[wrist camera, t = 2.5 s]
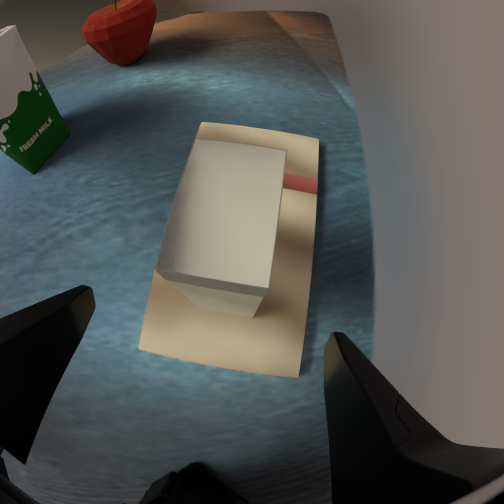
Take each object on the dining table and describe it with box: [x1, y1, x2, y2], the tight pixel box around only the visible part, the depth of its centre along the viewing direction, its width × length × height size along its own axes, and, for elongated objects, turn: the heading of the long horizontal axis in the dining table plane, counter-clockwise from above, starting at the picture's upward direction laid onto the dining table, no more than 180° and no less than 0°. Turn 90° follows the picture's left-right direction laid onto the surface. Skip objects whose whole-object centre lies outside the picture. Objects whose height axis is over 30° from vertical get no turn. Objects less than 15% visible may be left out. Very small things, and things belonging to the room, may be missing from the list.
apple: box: [82, 0, 157, 65], centre depth 26 cm, size 11×11×12 cm
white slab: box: [155, 138, 287, 318], centre depth 16 cm, size 6×4×11 cm
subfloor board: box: [138, 122, 319, 378], centre depth 23 cm, size 22×12×1 cm, turn 171°
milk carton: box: [0, 25, 70, 175], centre depth 16 cm, size 9×9×20 cm
